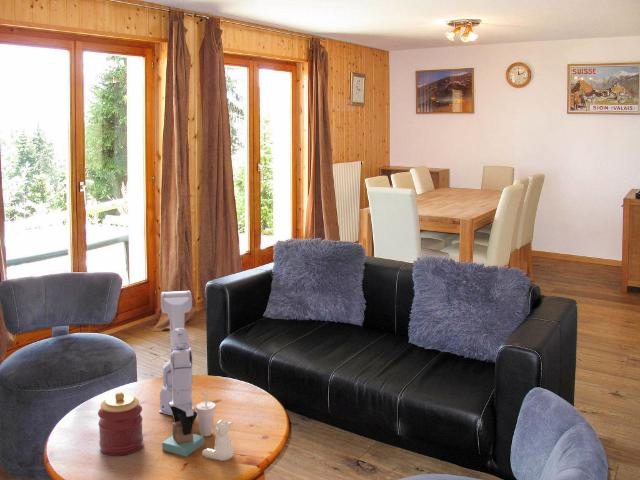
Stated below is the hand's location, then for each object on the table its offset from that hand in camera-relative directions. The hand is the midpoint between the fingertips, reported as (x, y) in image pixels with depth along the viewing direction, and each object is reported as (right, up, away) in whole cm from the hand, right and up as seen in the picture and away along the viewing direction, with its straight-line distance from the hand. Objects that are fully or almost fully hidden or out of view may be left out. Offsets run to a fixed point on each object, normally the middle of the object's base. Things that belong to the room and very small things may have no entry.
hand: (182, 429), depth 206 cm
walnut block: (0, -3, +1) cm, 3 cm away
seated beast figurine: (+13, -7, -4) cm, 15 cm away
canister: (-19, -6, +1) cm, 20 cm away
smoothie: (+5, -4, +10) cm, 12 cm away
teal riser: (0, -6, +1) cm, 6 cm away
